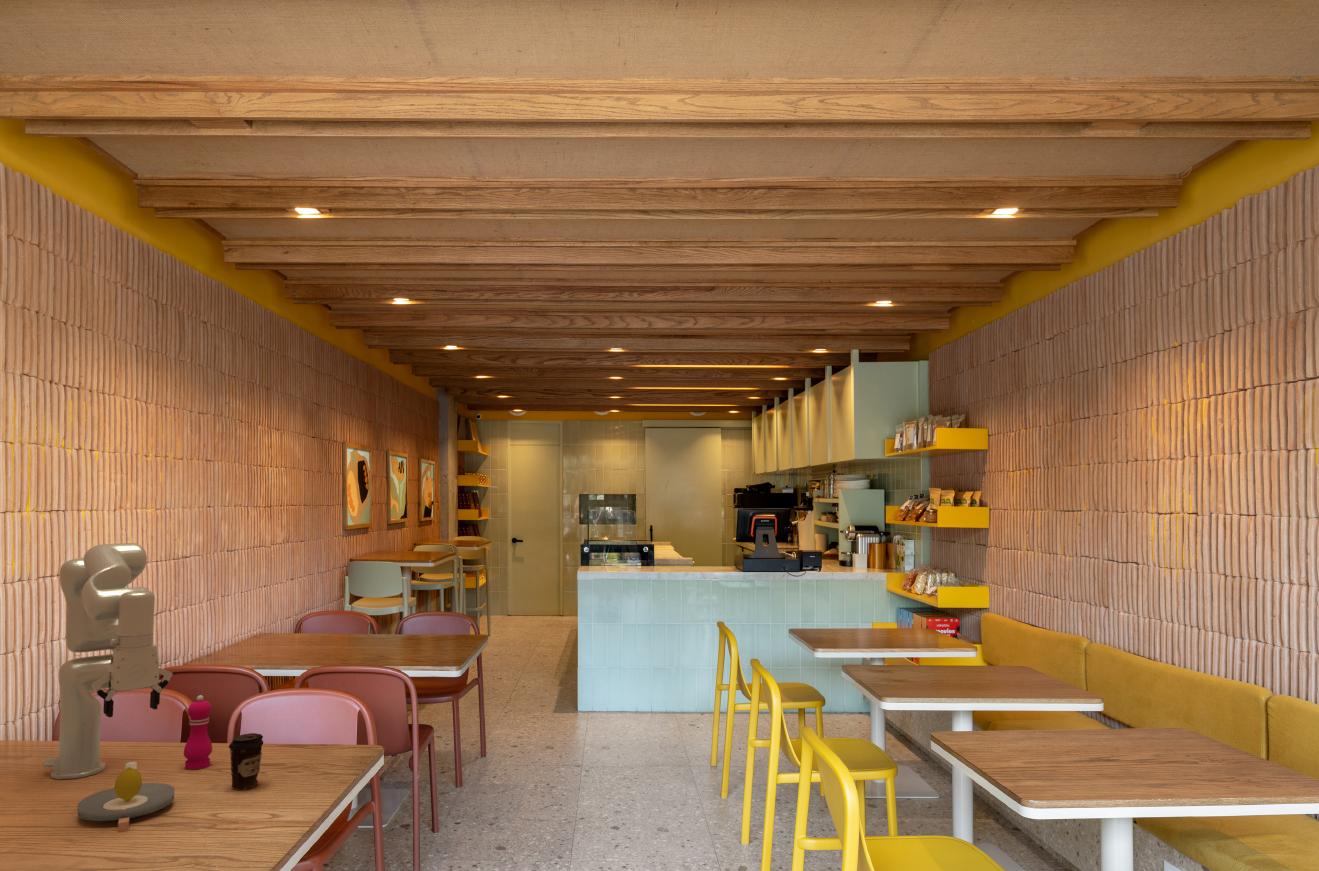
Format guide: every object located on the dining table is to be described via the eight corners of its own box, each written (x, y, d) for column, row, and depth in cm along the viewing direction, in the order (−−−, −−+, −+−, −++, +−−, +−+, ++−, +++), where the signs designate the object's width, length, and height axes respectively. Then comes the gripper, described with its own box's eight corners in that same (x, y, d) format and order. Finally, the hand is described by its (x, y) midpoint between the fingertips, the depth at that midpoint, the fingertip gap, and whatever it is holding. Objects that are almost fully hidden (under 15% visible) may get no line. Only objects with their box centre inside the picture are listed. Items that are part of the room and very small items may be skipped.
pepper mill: (217, 762, 241) (219, 692, 243) (201, 770, 234) (203, 698, 235) (193, 762, 242) (196, 692, 243) (177, 770, 235) (180, 697, 236)
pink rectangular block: (118, 827, 194) (119, 818, 194) (128, 826, 195) (129, 817, 195) (117, 832, 191) (118, 823, 191) (128, 830, 192) (128, 821, 192)
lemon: (122, 797, 203) (123, 763, 203) (145, 796, 203) (147, 763, 204) (108, 806, 197) (110, 771, 198) (133, 805, 197) (134, 770, 198)
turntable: (91, 828, 190) (92, 792, 190) (67, 806, 203) (69, 772, 204) (186, 803, 205) (187, 770, 205) (158, 785, 218) (159, 754, 219)
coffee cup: (270, 783, 224) (272, 733, 225) (245, 793, 216) (247, 742, 217) (245, 779, 227) (246, 730, 228) (220, 789, 219) (221, 739, 220)
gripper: (99, 648, 196) (95, 722, 195) (179, 639, 209) (175, 708, 208) (89, 644, 201) (85, 716, 200) (168, 635, 214) (164, 703, 213)
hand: (131, 712), depth 204 cm, fingers open, 9 cm apart
